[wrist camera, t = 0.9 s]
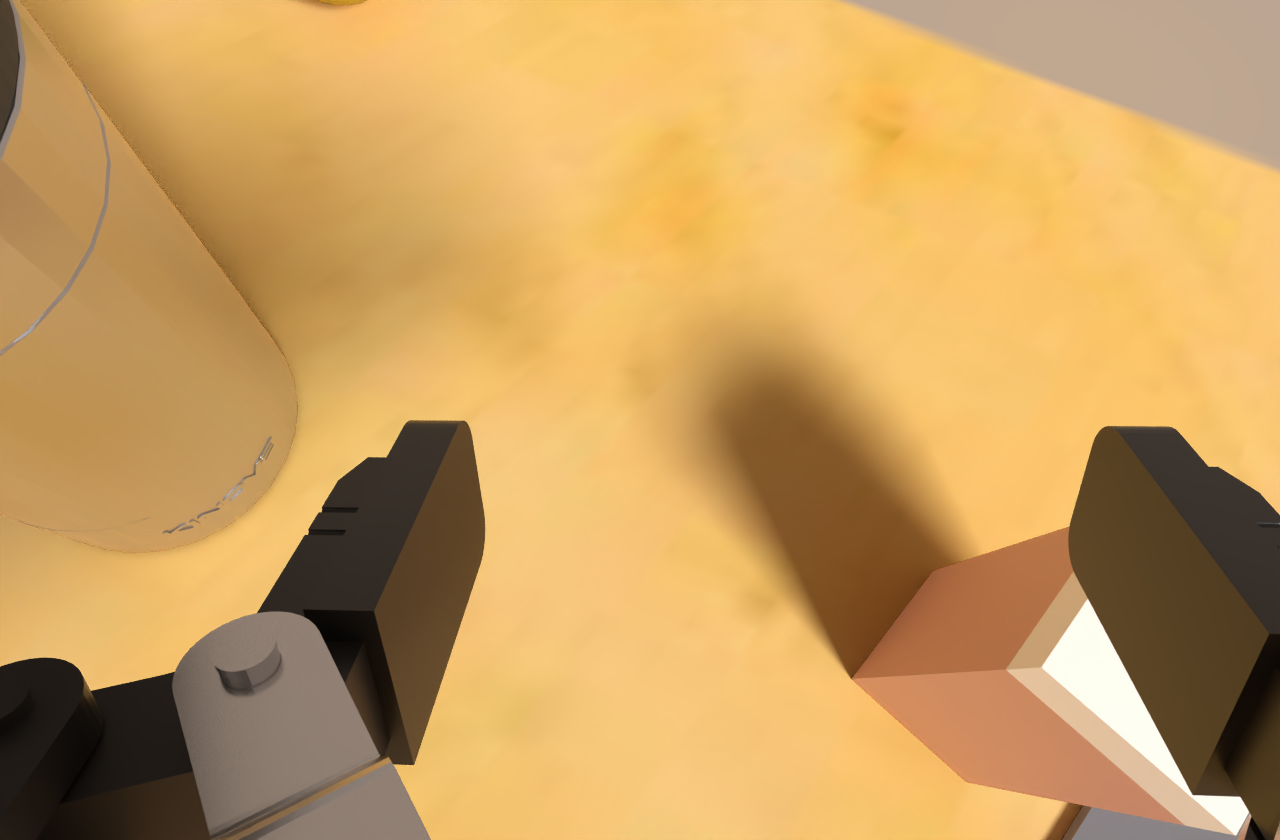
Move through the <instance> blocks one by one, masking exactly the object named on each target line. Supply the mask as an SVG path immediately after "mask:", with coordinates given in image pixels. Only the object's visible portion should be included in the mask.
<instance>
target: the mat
mask: <svg viewBox="0 0 1280 840" xmlns="http://www.w3.org/2000/svg"><path fill="white" fill-rule="evenodd" d="M1249 814H1250V813H1248V815H1247V817H1246V819H1245V820H1244V822H1243V824H1242V826H1241V828H1240V829H1239V831H1238V833H1237V835H1236V836H1235V835H1230V834H1225V833H1220V832H1215V831H1210V830H1205V829H1200V828H1195V827H1190V826H1185V825H1180V824H1175V823H1170V822H1165V821H1159V820H1154V819H1149V818H1144V817H1139V816H1134V815H1129V814H1124V813H1119V812H1114V811H1109V810H1104V809H1099V808H1094V807H1089V806H1084V805H1083V806H1082V808H1081V810H1080V811H1079V813H1078V814H1077V816H1076V818H1075V819H1074V821H1073V822H1072V824H1071V826H1070V827H1069V829H1068V831H1067V832H1066V834H1065V835H1064V837H1063V839H1062V840H1237V839H1238V836H1239V833H1240V831H1241V829H1242V827H1243V825H1244V823H1245V822H1246V820H1247V818H1248V816H1249Z"/></svg>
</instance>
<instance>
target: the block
mask: <svg viewBox="0 0 1280 840" xmlns="http://www.w3.org/2000/svg"><path fill="white" fill-rule="evenodd" d="M1068 536H1069V527H1067V528H1063V529H1060V530H1057V531H1054V532H1051V533H1048V534H1045V535H1042V536H1039V537H1036V538H1033V539H1029V540H1026V541H1023V542H1020V543H1017V544H1014V545H1011V546H1008V547H1005V548H1002V549H999V550H996V551H992V552H989V553H986V554H983V555H980V556H977V557H974V558H971V559H968V560H965V561H962V562H959V563H955V564H952V565H949V566H946V567H943V568H940V569H937V570H934V571H933V572H932V573H931V574H930V576H929V577H928V578H927V579H926V581H925V582H924V583H923V585H922V586H921V587H920V589H919V590H918V591H917V593H916V594H915V595H914V597H913V598H912V599H911V601H910V602H909V603H908V605H907V606H906V607H905V609H904V610H903V611H902V613H901V614H900V615H899V617H898V618H897V619H896V621H895V622H894V623H893V624H892V626H891V627H890V628H889V630H888V631H887V632H886V634H885V635H884V636H883V638H882V639H881V640H880V642H879V643H878V644H877V646H876V647H875V648H874V650H873V651H872V652H871V654H870V655H869V656H868V658H867V659H866V660H865V662H864V663H863V664H862V666H861V667H860V668H859V670H858V671H857V672H856V673H855V675H854V676H853V677H852V680H853V681H854V682H855V683H856V684H857V685H859V686H860V687H861V688H862V689H863V690H864V691H865V692H866V693H868V694H869V695H870V696H871V697H872V698H873V699H874V700H875V701H876V702H878V703H879V704H880V705H881V706H882V707H883V708H884V709H885V710H887V711H888V712H889V713H890V714H891V715H892V716H893V717H894V718H895V719H897V720H898V721H899V722H900V723H901V724H902V725H903V726H904V727H905V728H907V729H908V730H909V731H910V732H911V733H912V734H913V735H914V736H916V737H917V738H918V739H919V740H920V741H921V742H922V743H923V744H924V745H926V746H927V747H928V748H929V749H930V750H931V751H932V752H933V753H935V754H936V755H937V756H938V757H939V758H940V759H941V760H942V761H943V762H945V763H946V764H947V765H948V766H949V767H950V768H951V769H952V770H953V771H955V772H956V773H957V774H958V775H959V776H960V777H961V778H962V779H964V780H965V781H966V782H968V783H973V784H978V785H983V786H988V787H993V788H998V789H1003V790H1008V791H1013V792H1018V793H1023V794H1028V795H1033V796H1038V797H1043V798H1048V799H1054V800H1059V801H1064V802H1069V803H1074V804H1079V805H1084V806H1089V807H1094V808H1099V809H1104V810H1109V811H1114V812H1119V813H1124V814H1129V815H1134V816H1139V817H1144V818H1149V819H1154V820H1159V821H1165V822H1170V823H1175V824H1180V825H1185V826H1190V827H1195V828H1200V829H1205V830H1210V831H1215V832H1220V833H1225V834H1230V835H1235V836H1236V835H1237V833H1238V831H1239V829H1240V828H1241V826H1242V824H1243V822H1244V820H1245V819H1246V817H1247V815H1248V813H1249V811H1248V809H1247V807H1246V806H1245V804H1244V802H1243V801H1242V799H1241V797H1229V796H1201V795H1192V793H1191V791H1190V790H1189V788H1188V786H1187V784H1186V782H1185V780H1184V778H1183V776H1182V775H1181V773H1180V771H1179V769H1178V767H1177V765H1176V763H1175V761H1174V760H1173V758H1172V756H1171V754H1170V752H1169V750H1168V748H1167V746H1166V744H1165V743H1164V741H1163V739H1162V737H1161V735H1160V733H1159V731H1158V729H1157V728H1156V726H1155V724H1154V722H1153V720H1152V718H1151V716H1150V714H1149V713H1148V711H1147V709H1146V707H1145V705H1144V703H1143V701H1142V699H1141V698H1140V696H1139V694H1138V692H1137V690H1136V688H1135V686H1134V684H1133V683H1132V681H1131V679H1130V677H1129V675H1128V673H1127V671H1126V669H1125V668H1124V666H1123V664H1122V662H1121V660H1120V658H1119V656H1118V654H1117V653H1116V651H1115V649H1114V647H1113V645H1112V643H1111V641H1110V639H1109V637H1108V636H1107V634H1106V632H1105V630H1104V628H1103V626H1102V624H1101V622H1100V621H1099V619H1098V617H1097V615H1096V613H1095V611H1094V609H1093V607H1092V606H1091V604H1090V602H1089V600H1088V598H1087V596H1086V594H1085V592H1084V591H1083V589H1082V587H1081V585H1080V583H1079V581H1078V579H1077V577H1076V575H1075V573H1074V571H1073V568H1072V565H1071V561H1070V556H1069V547H1068Z"/></svg>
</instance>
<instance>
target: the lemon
mask: <svg viewBox="0 0 1280 840" xmlns="http://www.w3.org/2000/svg"><path fill="white" fill-rule="evenodd" d="M318 1H321V2H323V3H328V4H333V5H352V4H357V3H361V2H364V1H367V0H318Z"/></svg>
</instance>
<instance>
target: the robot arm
mask: <svg viewBox="0 0 1280 840" xmlns="http://www.w3.org/2000/svg"><path fill="white" fill-rule="evenodd" d="M297 411H298V405H297V397H296V388H295V382H294V379H293V376H292V374H291V371H290V368H289V366H288V363H287V360H286V358H285V357H284V355H283V354H282V352H281V351H280V349H279V348H278V346H277V345H276V343H275V342H274V341H273V339H272V338H271V336H270V335H269V334H268V332H267V331H266V329H265V328H264V327H263V325H262V324H261V323H260V321H259V320H258V319H257V317H256V316H255V315H254V313H253V312H252V311H251V309H250V308H249V306H248V305H247V303H246V302H245V300H244V299H243V298H242V296H241V295H240V294H239V292H238V291H237V290H236V288H235V287H234V286H233V284H232V283H231V281H230V280H229V279H228V277H227V276H226V275H225V273H224V272H223V271H222V269H221V268H220V267H219V265H218V264H217V263H216V261H215V260H214V259H213V257H212V256H211V255H210V253H209V252H208V251H207V249H206V248H205V247H204V245H203V244H202V243H201V241H200V240H199V239H198V237H197V236H196V235H195V233H194V232H193V230H192V229H191V228H190V226H189V225H188V224H187V222H186V221H185V220H184V218H183V217H182V216H181V214H180V213H179V212H178V210H177V209H176V208H175V206H174V205H173V204H172V202H171V201H170V200H169V198H168V197H167V196H166V194H165V193H164V192H163V190H162V189H161V188H160V186H159V185H158V184H157V182H156V181H155V180H154V178H153V177H152V175H151V174H150V173H149V171H148V170H147V169H146V167H145V166H144V165H143V163H142V162H141V161H140V159H139V158H138V157H137V155H136V154H135V153H134V151H133V150H132V149H131V147H130V146H129V145H128V143H127V142H126V141H125V139H124V138H123V137H122V135H121V134H120V133H119V131H118V130H117V129H116V127H115V126H114V125H113V123H112V122H111V120H110V119H109V118H108V116H107V115H106V114H105V112H104V111H103V110H102V108H101V107H100V106H99V104H98V103H97V102H96V100H95V99H94V98H93V96H92V95H91V94H90V92H89V91H88V90H87V88H86V87H85V86H84V85H83V83H82V82H81V81H80V80H79V79H78V78H77V76H76V75H75V74H74V72H73V71H72V70H71V68H70V67H69V65H68V64H67V63H66V61H65V60H64V59H63V57H62V56H61V55H60V53H59V52H58V51H57V49H56V48H55V47H54V45H53V44H52V43H51V41H50V40H49V39H48V37H47V36H46V35H45V33H44V32H43V31H42V29H41V28H40V27H39V25H38V24H37V23H36V21H35V20H34V19H33V17H32V16H31V15H30V13H29V12H28V11H27V9H26V8H25V7H24V5H23V4H22V3H21V1H20V0H0V515H2V516H5V517H8V518H11V519H14V520H17V521H19V522H22V523H25V524H28V525H31V526H34V527H37V528H40V529H43V530H46V531H49V532H52V533H55V534H58V535H61V536H64V537H67V538H70V539H74V540H77V541H80V542H83V543H86V544H89V545H92V546H95V547H98V548H101V549H105V550H113V551H122V552H130V553H140V552H152V551H163V550H169V549H172V548H176V547H179V546H183V545H186V544H190V543H194V542H197V541H199V540H201V539H203V538H205V537H207V536H209V535H211V534H213V533H215V532H217V531H219V530H221V529H223V528H225V527H227V526H228V525H229V524H231V523H232V522H233V521H235V520H236V519H237V518H238V517H240V516H241V515H242V514H244V513H245V512H246V511H248V510H249V509H250V508H251V507H252V506H253V505H254V504H255V503H256V502H257V501H258V500H259V498H260V497H261V496H262V495H263V494H264V493H265V492H266V491H267V490H268V489H269V487H270V486H271V485H272V483H273V482H274V480H275V478H276V477H277V475H278V473H279V472H280V470H281V468H282V466H283V465H284V463H285V461H286V459H287V456H288V453H289V450H290V447H291V444H292V442H293V439H294V436H295V429H296V420H297ZM308 530H309V533H308V535H305V536H304V537H303V539H302V541H301V542H300V544H299V545H298V547H297V549H296V550H295V552H294V554H293V555H292V557H291V558H290V560H289V562H288V563H287V565H286V567H285V568H284V570H283V572H282V573H281V575H280V576H279V578H278V580H277V581H276V583H275V585H274V586H273V588H272V589H271V591H270V593H269V594H268V596H267V598H266V599H265V601H264V603H263V604H262V606H261V607H260V609H259V611H258V612H257V613H256V614H252V615H248V616H244V617H241V618H239V619H236V620H233V621H231V622H229V623H226V624H224V625H222V626H220V627H218V628H217V629H215V630H213V631H212V632H210V633H209V634H207V635H206V636H204V637H203V638H202V639H200V640H199V641H198V642H197V643H196V644H195V645H194V646H193V647H191V648H190V650H189V651H188V652H187V653H186V654H185V655H184V657H183V658H182V660H181V661H180V663H179V665H178V666H177V668H176V671H175V672H172V673H169V674H165V675H161V676H157V677H152V678H147V679H143V680H138V681H134V682H129V683H125V684H120V685H116V686H111V687H107V688H102V689H98V690H93V691H90V689H89V687H88V685H87V683H86V681H85V679H84V677H83V676H82V674H81V672H80V670H79V669H78V668H77V667H76V666H74V665H73V664H72V663H69V662H67V661H65V660H61V659H56V658H34V659H27V660H22V661H17V662H14V663H11V664H7V665H4V666H1V667H0V840H431V839H430V837H429V835H428V833H427V831H426V829H425V827H424V825H423V823H422V821H421V819H420V817H419V815H418V813H417V811H416V809H415V807H414V805H413V803H412V801H411V799H410V797H409V795H408V793H407V791H406V789H405V787H404V785H403V783H402V781H401V779H400V776H399V775H398V773H397V771H396V769H395V767H394V765H393V764H401V765H414V764H415V761H416V758H417V754H418V751H419V748H420V745H421V742H422V739H423V736H424V733H425V730H426V727H427V724H428V721H429V718H430V715H431V712H432V709H433V706H434V703H435V700H436V697H437V694H438V691H439V688H440V685H441V682H442V679H443V676H444V673H445V670H446V667H447V664H448V661H449V658H450V655H451V652H452V648H453V645H454V642H455V639H456V636H457V633H458V630H459V627H460V624H461V621H462V618H463V615H464V612H465V609H466V606H467V603H468V600H469V597H470V594H471V591H472V588H473V585H474V582H475V579H476V576H477V573H478V570H479V567H480V564H481V560H482V556H483V550H484V542H485V517H484V510H483V503H482V497H481V491H480V484H479V478H478V472H477V465H476V459H475V453H474V446H473V440H472V435H471V431H470V428H469V425H468V424H467V422H465V421H413V420H410V421H408V422H407V423H406V424H405V425H404V427H403V429H402V431H401V432H400V434H399V436H398V438H397V440H396V441H395V443H394V445H393V447H392V449H391V450H390V452H389V454H388V456H387V458H378V457H368V458H367V459H365V460H364V461H363V462H362V463H360V464H359V465H358V466H356V467H355V468H354V469H352V470H351V471H350V472H349V473H347V474H346V475H345V476H343V477H342V478H341V479H340V480H338V482H337V483H336V485H335V487H334V488H333V490H332V492H331V493H330V495H329V497H328V498H327V500H326V501H325V503H324V505H323V506H322V513H321V512H319V513H318V514H317V516H316V518H315V519H314V521H313V523H312V524H311V526H310V528H309V529H308ZM1068 547H1069V556H1070V561H1071V565H1072V568H1073V571H1074V573H1075V575H1076V577H1077V579H1078V581H1079V583H1080V585H1081V587H1082V589H1083V591H1084V592H1085V594H1086V596H1087V598H1088V600H1089V602H1090V604H1091V606H1092V607H1093V609H1094V611H1095V613H1096V615H1097V617H1098V619H1099V621H1100V622H1101V624H1102V626H1103V628H1104V630H1105V632H1106V634H1107V636H1108V637H1109V639H1110V641H1111V643H1112V645H1113V647H1114V649H1115V651H1116V653H1117V654H1118V656H1119V658H1120V660H1121V662H1122V664H1123V666H1124V668H1125V669H1126V671H1127V673H1128V675H1129V677H1130V679H1131V681H1132V683H1133V684H1134V686H1135V688H1136V690H1137V692H1138V694H1139V696H1140V698H1141V699H1142V701H1143V703H1144V705H1145V707H1146V709H1147V711H1148V713H1149V714H1150V716H1151V718H1152V720H1153V722H1154V724H1155V726H1156V728H1157V729H1158V731H1159V733H1160V735H1161V737H1162V739H1163V741H1164V743H1165V744H1166V746H1167V748H1168V750H1169V752H1170V754H1171V756H1172V758H1173V760H1174V761H1175V763H1176V765H1177V767H1178V769H1179V771H1180V773H1181V775H1182V776H1183V778H1184V780H1185V782H1186V784H1187V786H1188V788H1189V790H1190V791H1191V793H1192V795H1201V796H1229V797H1241V799H1242V801H1243V802H1244V804H1245V806H1246V807H1247V809H1248V811H1249V813H1250V814H1249V816H1248V818H1247V820H1246V822H1245V823H1244V825H1243V827H1242V829H1241V831H1240V833H1239V836H1238V839H1237V840H1280V515H1279V514H1278V513H1277V512H1276V511H1275V510H1274V508H1273V507H1272V506H1271V505H1270V504H1269V503H1268V502H1267V501H1266V500H1265V499H1264V497H1263V496H1262V495H1261V494H1260V493H1259V492H1257V491H1256V490H1254V489H1253V488H1251V487H1249V486H1248V485H1246V484H1245V483H1243V482H1241V481H1240V480H1238V479H1237V478H1235V477H1233V476H1232V475H1230V474H1229V473H1227V472H1225V471H1224V470H1222V469H1221V468H1219V467H1208V466H1207V464H1206V463H1205V462H1204V461H1203V460H1202V459H1201V458H1200V456H1199V455H1198V454H1197V453H1196V452H1195V451H1194V449H1193V448H1192V447H1191V446H1190V445H1189V444H1188V442H1187V441H1186V440H1185V439H1184V438H1183V437H1182V435H1181V434H1180V433H1179V432H1178V431H1177V430H1176V429H1174V428H1172V427H1144V426H1107V427H1104V428H1102V429H1101V430H1100V431H1099V432H1098V434H1097V435H1096V437H1095V439H1094V442H1093V445H1092V449H1091V452H1090V456H1089V459H1088V463H1087V466H1086V470H1085V473H1084V477H1083V480H1082V484H1081V487H1080V491H1079V494H1078V498H1077V501H1076V505H1075V508H1074V512H1073V515H1072V519H1071V523H1070V527H1069V536H1068Z"/></svg>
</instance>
